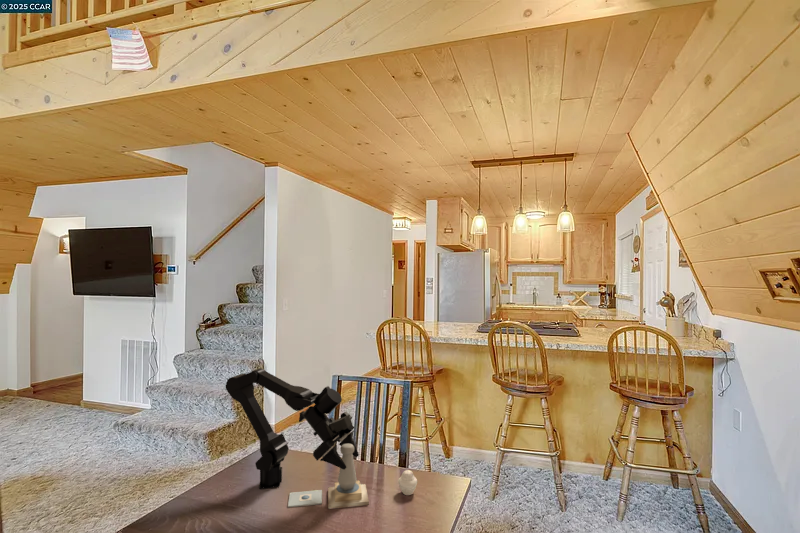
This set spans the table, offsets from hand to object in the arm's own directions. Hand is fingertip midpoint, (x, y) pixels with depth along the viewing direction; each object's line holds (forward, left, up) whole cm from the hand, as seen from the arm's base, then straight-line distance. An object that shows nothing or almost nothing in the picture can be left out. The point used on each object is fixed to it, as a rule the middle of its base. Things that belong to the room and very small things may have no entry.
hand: (351, 462), depth 131 cm
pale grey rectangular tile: (-14, +2, -11) cm, 18 cm away
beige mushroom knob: (-1, +1, -8) cm, 8 cm away
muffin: (+18, 0, -11) cm, 21 cm away
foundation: (-1, +1, -11) cm, 11 cm away
